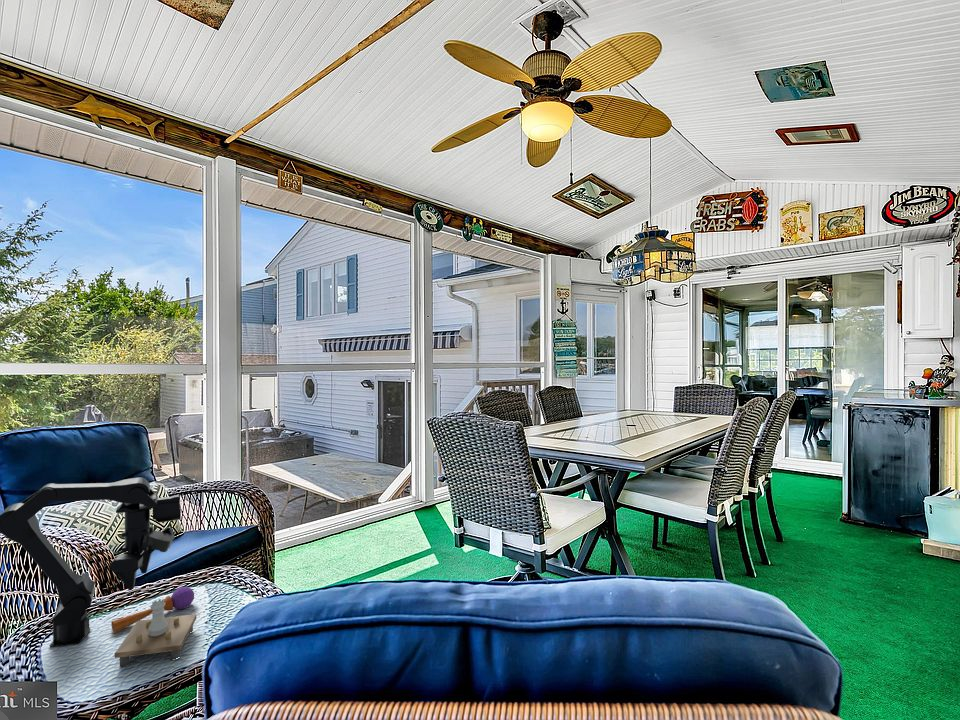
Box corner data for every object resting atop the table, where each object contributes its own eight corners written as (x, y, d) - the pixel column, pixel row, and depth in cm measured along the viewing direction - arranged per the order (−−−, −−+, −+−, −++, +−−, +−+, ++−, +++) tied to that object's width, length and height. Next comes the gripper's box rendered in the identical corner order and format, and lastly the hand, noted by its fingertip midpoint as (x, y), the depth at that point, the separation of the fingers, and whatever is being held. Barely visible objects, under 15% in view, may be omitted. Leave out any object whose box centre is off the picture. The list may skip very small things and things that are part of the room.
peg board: (114, 669, 120) (114, 647, 120) (137, 635, 133) (137, 615, 133) (180, 660, 124) (180, 639, 123) (196, 628, 137) (196, 608, 137)
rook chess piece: (153, 627, 130) (153, 597, 130) (171, 627, 131) (171, 597, 130) (143, 637, 126) (143, 606, 125) (162, 637, 126) (162, 606, 126)
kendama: (108, 614, 136) (187, 581, 152) (111, 636, 136) (191, 601, 151) (114, 618, 132) (195, 584, 148) (118, 640, 132) (199, 604, 148)
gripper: (158, 536, 130) (159, 595, 131) (181, 511, 148) (181, 563, 149) (109, 539, 127) (109, 599, 128) (137, 514, 145) (138, 566, 146)
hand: (137, 581), depth 138 cm, fingers open, 9 cm apart
